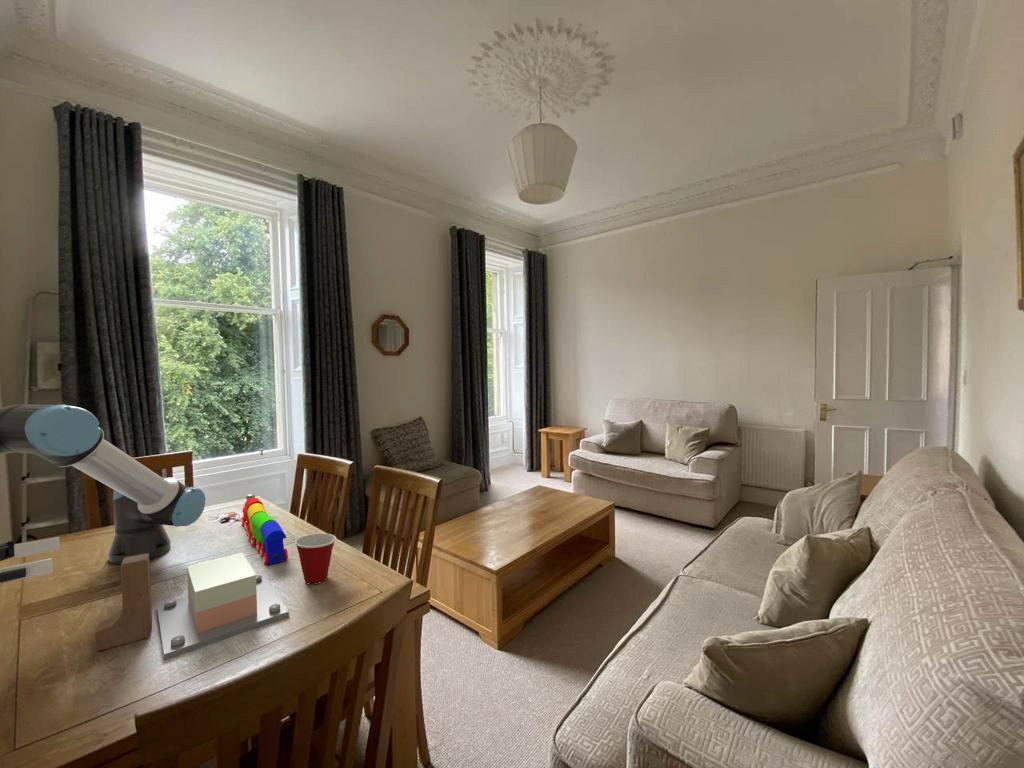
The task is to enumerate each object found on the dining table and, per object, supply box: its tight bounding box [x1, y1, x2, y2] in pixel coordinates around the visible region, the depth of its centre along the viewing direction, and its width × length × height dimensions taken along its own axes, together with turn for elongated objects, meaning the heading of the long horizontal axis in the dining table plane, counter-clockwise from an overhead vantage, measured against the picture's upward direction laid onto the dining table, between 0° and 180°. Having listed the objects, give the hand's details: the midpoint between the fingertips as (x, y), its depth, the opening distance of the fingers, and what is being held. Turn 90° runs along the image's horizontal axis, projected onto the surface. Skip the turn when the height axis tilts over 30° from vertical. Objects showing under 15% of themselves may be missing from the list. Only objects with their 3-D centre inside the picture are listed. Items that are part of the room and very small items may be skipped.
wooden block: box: [95, 553, 153, 652], centre depth 98 cm, size 9×4×18 cm, turn 124°
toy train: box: [240, 493, 289, 566], centre depth 152 cm, size 45×7×11 cm, turn 41°
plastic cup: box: [294, 533, 337, 585], centre depth 126 cm, size 11×11×12 cm
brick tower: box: [156, 552, 290, 661], centre depth 109 cm, size 24×24×11 cm
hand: (56, 553), depth 91 cm, fingers open, 13 cm apart
